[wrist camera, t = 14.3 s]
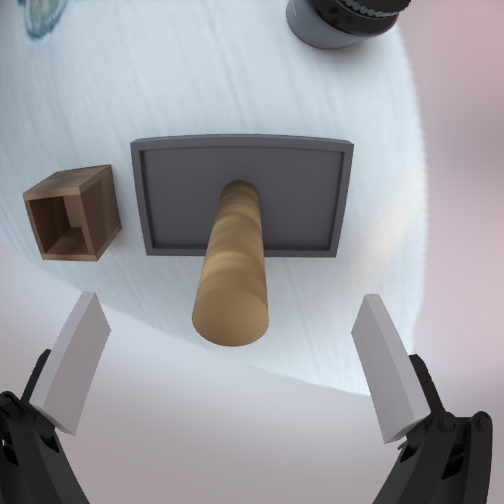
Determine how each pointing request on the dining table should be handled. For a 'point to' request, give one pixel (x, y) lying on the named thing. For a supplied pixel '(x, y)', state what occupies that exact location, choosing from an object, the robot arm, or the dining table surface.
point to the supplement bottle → (342, 20)
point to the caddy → (74, 213)
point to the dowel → (233, 272)
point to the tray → (247, 169)
